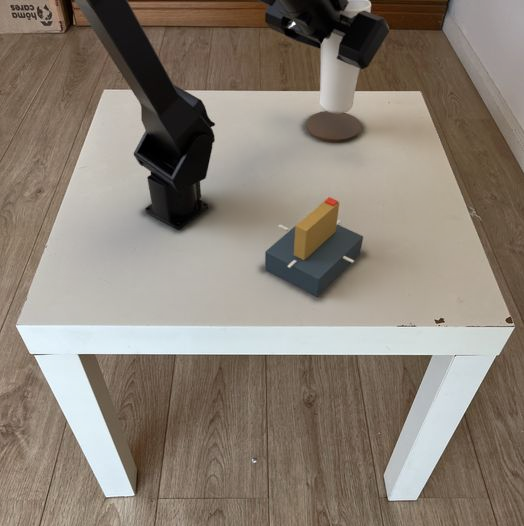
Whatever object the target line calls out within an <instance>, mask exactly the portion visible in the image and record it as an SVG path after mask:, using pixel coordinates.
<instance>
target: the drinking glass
mask: <svg viewBox="0 0 524 526" xmlns="http://www.w3.org/2000/svg"><path fill="white" fill-rule="evenodd" d="M347 1H348V2H349V3H348V5H347V7H346V8H345V10H344V11H340V14H342V15H344V16H347V17H349V18H353V17H354V16H355V15H357V13H359V12H361V11H364V10H365V11H367V12H370V13H372V12H371V11H372V3H371V0H347ZM342 38H343V37H342V36H339V35H337V34H335V33H331V36H330V38H329V39H324V40H323V42H322V44H321V49H320V65H319V66H320V70H319V71H320V72H319V73H320V75H319V76H320V77H319V99H318V101H319V102H318V104H319V107H320V108H321V109H322V110H323V111H327V112H330V113H347V112H349V111H350V110H351V109H352V108H353V105H354V100H355V99H354V98H355V93H356V89H357V85H358V79H359V75H360V70H361V69H360V68H358V67H355V66H353V65H349V64H347V63H345V62H343V61H340V60H338V59H337V56H338V51H339V44H340V42H341V40H342Z"/></svg>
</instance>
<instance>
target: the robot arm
mask: <svg viewBox="0 0 524 526" xmlns="http://www.w3.org/2000/svg"><path fill="white" fill-rule="evenodd" d="M257 1H258V2H260V3H262V4H264V5H267V8H266V10H265V12H264V22H265V24H266V25H267V26H268V27H269V28H270V29H271V30H272V31H275V32H277V33H280V34H282V35H284V36H285V37H287V38H289V39H290V40H291V39H292V40H294V41H296V42H299V43H302V44H304V45H308V46H311V47H313V48H317V49H320V50H321V44H322V42H323V40H324V39H329V38H330V36H331V33H335V34H337V35H339V36H342V37H343V38H342V40H341V42H340V44H339V51H338V56H337V59H338V60H340V61H343V62H345V63H347V64H349V65H353V66H355V67H358V68H360V70H364V69H366V68H368V67H369V65H370V64H371V63H372V61H373V59H374V57H375V56H376V54H377V52H378V51H379V49H380V48H381V46H382V44H383V43H384V41H385V39H386V38H387V36H388V34H389V33H390V27H389V24H388V23H387V21H386V19H385V17H382V16H380V15H377V14H375V13H372V12H367V11H365V10H364V11H361V12H359V13H357V15H355V16H354V17H353V18H349V17H347V16H344V15H342V14H340V11H344V10H345V8H346V7H347V5H348V3H349V2H348V1H347V0H256V2H257ZM74 2H75V3H76V5H77V7H78V8H79V9H80V11H81V13H82V14H83V16H84V19H86V21H87V22H88V24H89V26H90V27H91V29H92V30H93V32H94V34H95V35H96V37H97V38H98V40H99V41H100V43H101V44H102V46H103V48H104V49H105V51H106V52H107V54H108V55H109V57H110V58H111V61H112V62H113V63H114V65H115V66H116V68H117V69H118V71H119V73H120V74H121V76H122V77H123V79H124V81H125V82H126V84H127V85H128V87H129V88H130V90H131V91H132V93H133V95H134V96H135V98H136V99H137V101H138V103H139V105H140V110H141V113H140V115H141V116H140V117H141V119H140V120H141V123H142V125H143V128H144V130H145V131H144V133H143V134H142V136H141V138H140V140H139V142H138V144H137V146H136V148H135V150H134V151H133V156H134V158H135V160H136V161H137V163H138V164H139V166H141V167H144V168H145V169H146V170H148V171H149V172H150V175H148V176H147V178H146V179H147V185H148V190H149V197H150V202H151V204H149V205H148V206H146V207H145V208H144V212H145V213H146V214H147V215H150V216H151V217H153V218H155V219H157V220H159V221H160V222H162V223H164V224H165V225H168V226H169V227H172V228H173V229H175V230H181V229H182V228H183V227H185V226H186V225H187V224H189V223H190V222H192V221H193V220H194V219H195V218H198V217H199V216H200V215H201V214H202V213H204V212H205V211H206V210H208V209H209V207H210V206H209V203H208V202H206V201H204V200H202V199H201V198H202V191H201V190H202V189H201V181H203V180H205V179H206V178H207V175H208V170H209V164H210V160H211V155H212V150H213V144H214V143H215V138H216V137H215V133H214V130H213V127H215V126H216V123H215V122H214V121H212V120H211V119H210V117H209V115H208V112H207V109H206V106H205V104H204V102H203V100H202V99H201V98H199V97H197V96H196V95H193V94H191V93H190V92H188V91H186V90H184V89H183V88H181V87H179V86H177V85H176V84H174V83H173V81H172V79H171V78H170V76H169V74H168V72H167V70H166V68H165V67H164V65H163V63H162V61H161V59H160V57H159V56H158V54H157V52H156V50H155V48H154V46H153V45H152V43H151V41H150V38H149V37H148V36H147V33H146V32H145V30H144V27H143V26H142V25H141V23H140V21H139V19H138V17H137V15H136V14H135V11H134V10H133V7H132V6H131V4H130V2H129V1H128V0H74Z"/></svg>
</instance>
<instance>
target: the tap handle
mask: <svg viewBox="0 0 524 526" xmlns="http://www.w3.org/2000/svg"><path fill="white" fill-rule="evenodd" d="M339 211H340V201H339V200H337V199H335V198H332V197H331V196H328V197H327V198H326V199H324V201H323V202H322V203H320V204H319V205H318V206H317V207H316V208H315V209H313V210H312V211H311V212H309V214H307V215H306V216H305V217H304V218H303V219H302V220H301V221H299V222H298V223H296V224H295V225H294V227H295V242H294V256H296V257H298V258H300V259H302V260H305V259H306V258H307V257H309V256H310V255H311V254H312V253H313V252H314V251H315V250H316V249H317V248H318V247H319V246H321V245H322V244H323V243H324V242H325V241H326V240H327V239H328V238H329V237H330V236H331V235H333V234H334V233H335V232H336V226H337V221H338V217H339Z"/></svg>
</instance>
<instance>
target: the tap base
mask: <svg viewBox="0 0 524 526" xmlns="http://www.w3.org/2000/svg"><path fill="white" fill-rule="evenodd" d="M340 223H342V221H341V220H340V219H337V226H336V232H335V233H334V234H333V235H331V236H330V237H329V238H328V239H327V240H326V241H325V242H324V243H323V244H322V245H321V246H319V247H318V248H317V249H316V250H315V251H314V252H313V253H312V254H311V255H310V256H309V257H307V258H306V259H305V260H302V259H300V258H298V257H296V256H294V242H295V226H293V227H292V228H291V229H290V230H289V228H288V227H286V226H285V225H282V224H279V225H278V226H277V227H278V228H280V229H281V230H283V231H284V230H285V231H287V232H286V233H285V234H284V235H283V236H282V237H280V238H279V239H278V240H277V241H276V242H274V243H273V244H272V245H271V246H270V247H269V248H267V249H266V250H265V252H264V254H265V255H264V256H265V257H264V265H265V266H264V270H266V271H268V272H269V273H271V274H273V275H275V276H277V277H278V278H281V279H283V280H284V281H287V282H288V283H290V284H292V285H293V286H296V287H298V288H299V289H301V290H302V291H305V292H306V293H309V294H310V295H313V296H314V297H319V296H320V295H321V293H322V292H324V291H325V289H327V288H328V287H329V286H330V285H331V284H332V283H333V282H334V281H335V280H336V279H337V278H338V277H339V276H340V275H341V274H342V273H343V272H344V271H345V270H346V269H347V268H348V267H349V266H350V265H351V264H353V263H355V260H356V259H357V258H358V257H359V256H360V255H361V252H362V246H363V240H364V235H361V234H359V233H358V232H355V231H353V230H351V229H348V227H347V228H346V227H345V226H342V225H340Z"/></svg>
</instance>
